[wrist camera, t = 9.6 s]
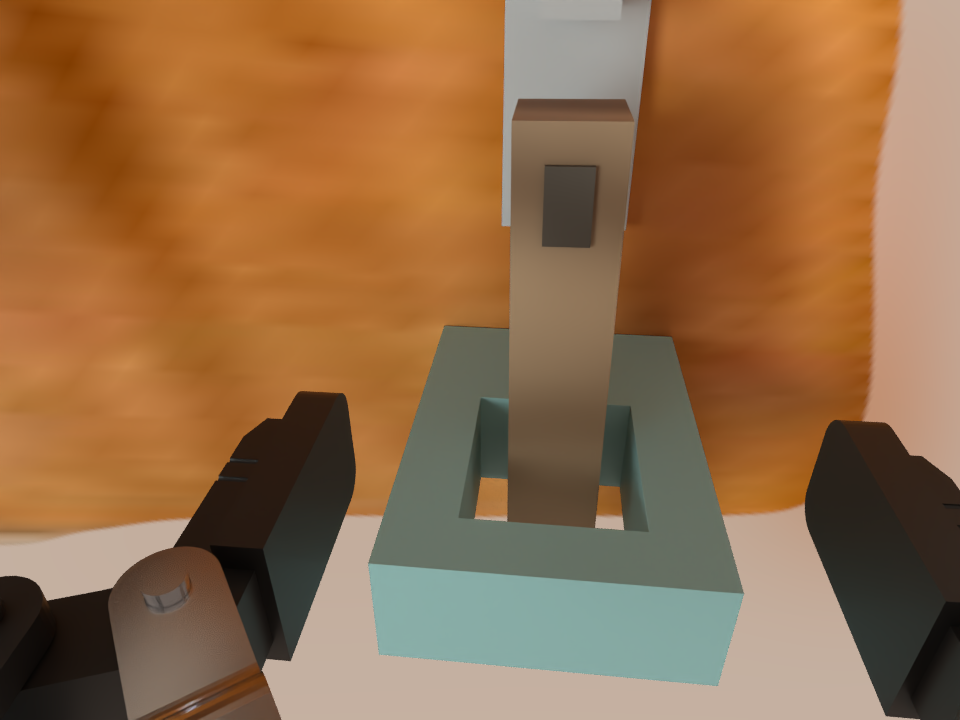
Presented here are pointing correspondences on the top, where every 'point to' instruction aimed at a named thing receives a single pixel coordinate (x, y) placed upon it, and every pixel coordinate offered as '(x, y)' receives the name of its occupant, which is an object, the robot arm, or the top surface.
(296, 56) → the top surface
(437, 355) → the teal rectangular frame
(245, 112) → the top surface
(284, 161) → the top surface
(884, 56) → the top surface
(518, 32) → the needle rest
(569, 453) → the needle
